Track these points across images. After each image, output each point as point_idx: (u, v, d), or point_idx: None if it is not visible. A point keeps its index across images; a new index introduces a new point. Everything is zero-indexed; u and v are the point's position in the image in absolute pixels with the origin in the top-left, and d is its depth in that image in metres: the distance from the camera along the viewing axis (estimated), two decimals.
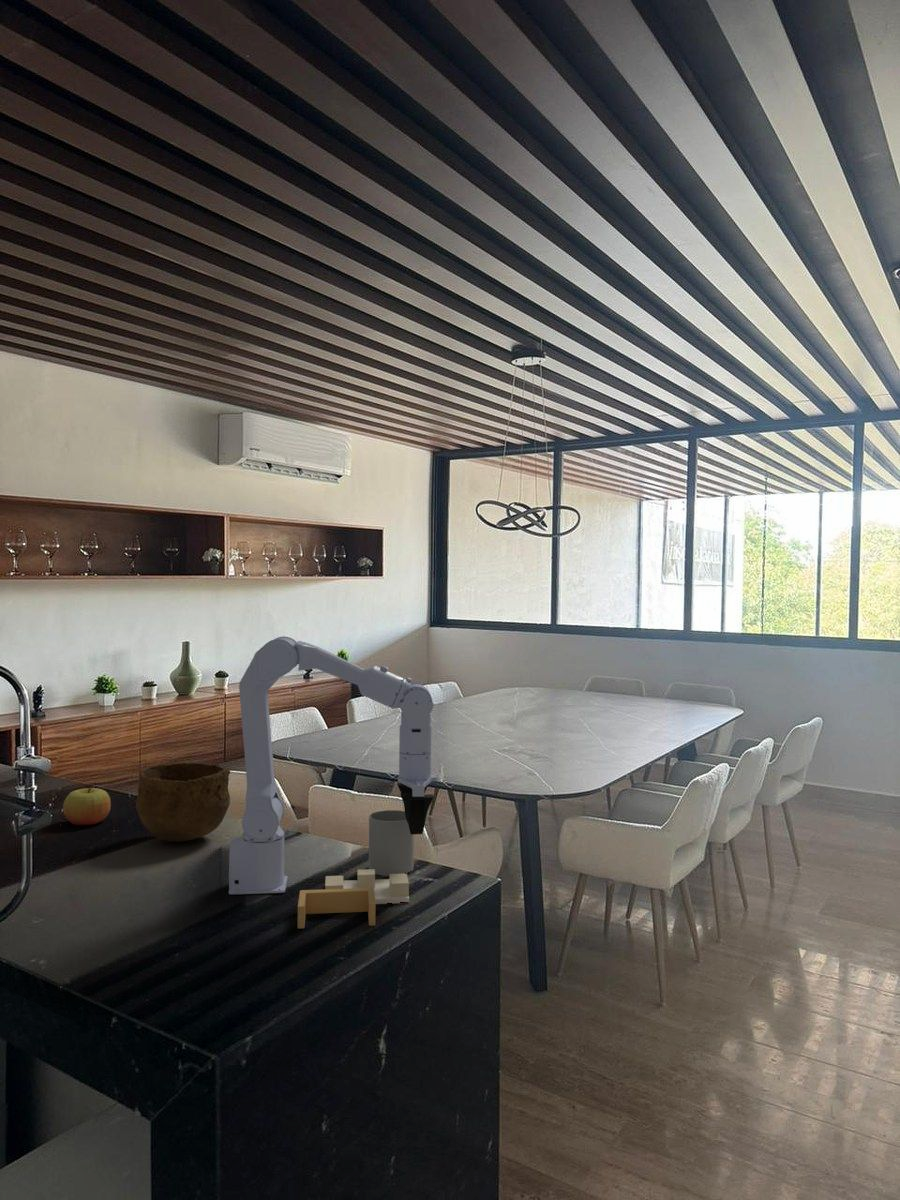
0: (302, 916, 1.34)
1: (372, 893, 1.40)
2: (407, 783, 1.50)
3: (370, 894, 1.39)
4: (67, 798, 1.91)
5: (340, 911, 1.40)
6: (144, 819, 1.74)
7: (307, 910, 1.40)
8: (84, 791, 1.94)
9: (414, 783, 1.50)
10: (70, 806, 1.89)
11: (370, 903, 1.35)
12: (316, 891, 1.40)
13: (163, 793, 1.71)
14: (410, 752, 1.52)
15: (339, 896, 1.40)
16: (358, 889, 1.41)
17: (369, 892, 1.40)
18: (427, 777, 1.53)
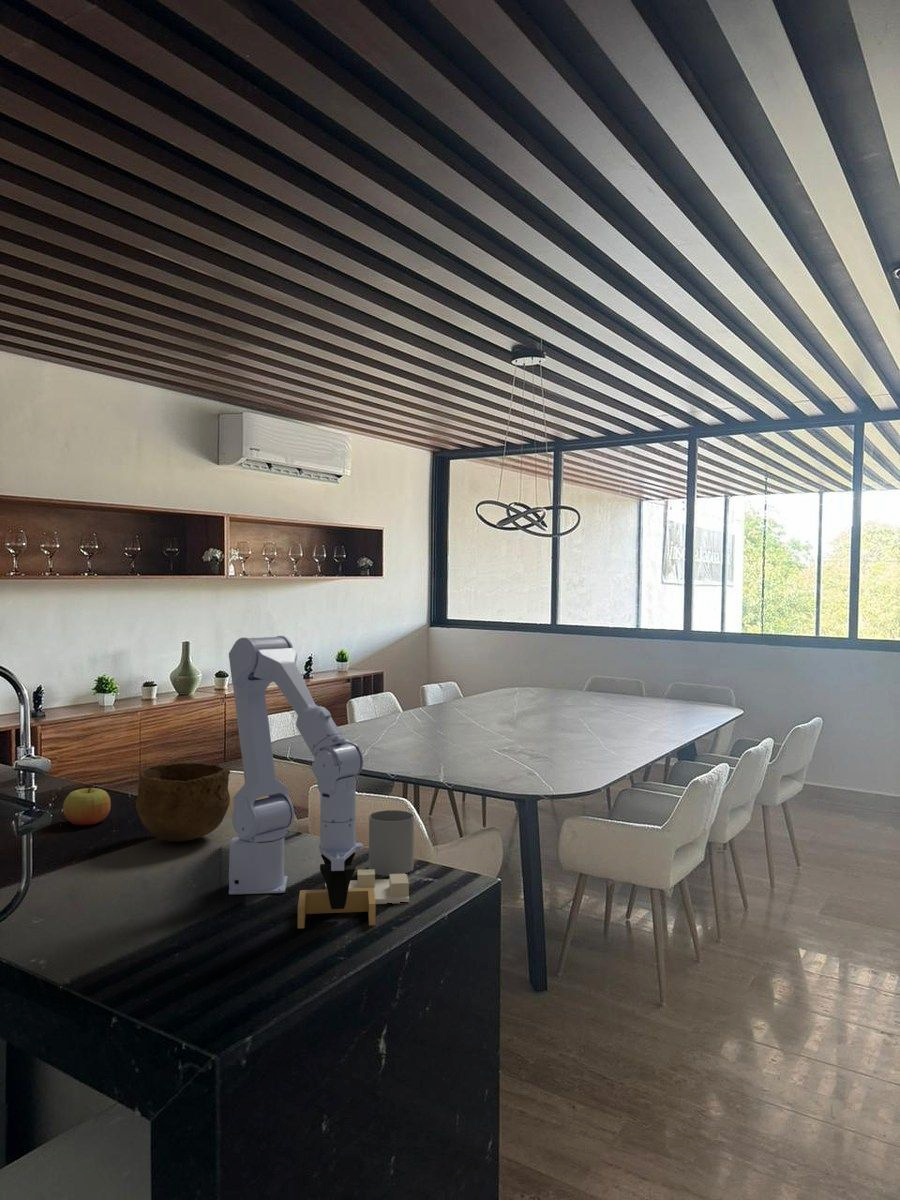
0: (302, 916, 1.34)
1: (372, 893, 1.40)
2: (327, 855, 1.36)
3: (370, 894, 1.39)
4: (67, 798, 1.91)
5: (340, 911, 1.40)
6: (144, 819, 1.74)
7: (307, 910, 1.40)
8: (84, 791, 1.94)
9: (334, 855, 1.36)
10: (70, 806, 1.89)
11: (370, 903, 1.35)
12: (316, 891, 1.40)
13: (163, 793, 1.71)
14: (322, 818, 1.39)
15: None
16: (358, 889, 1.41)
17: (369, 892, 1.40)
18: (350, 846, 1.39)
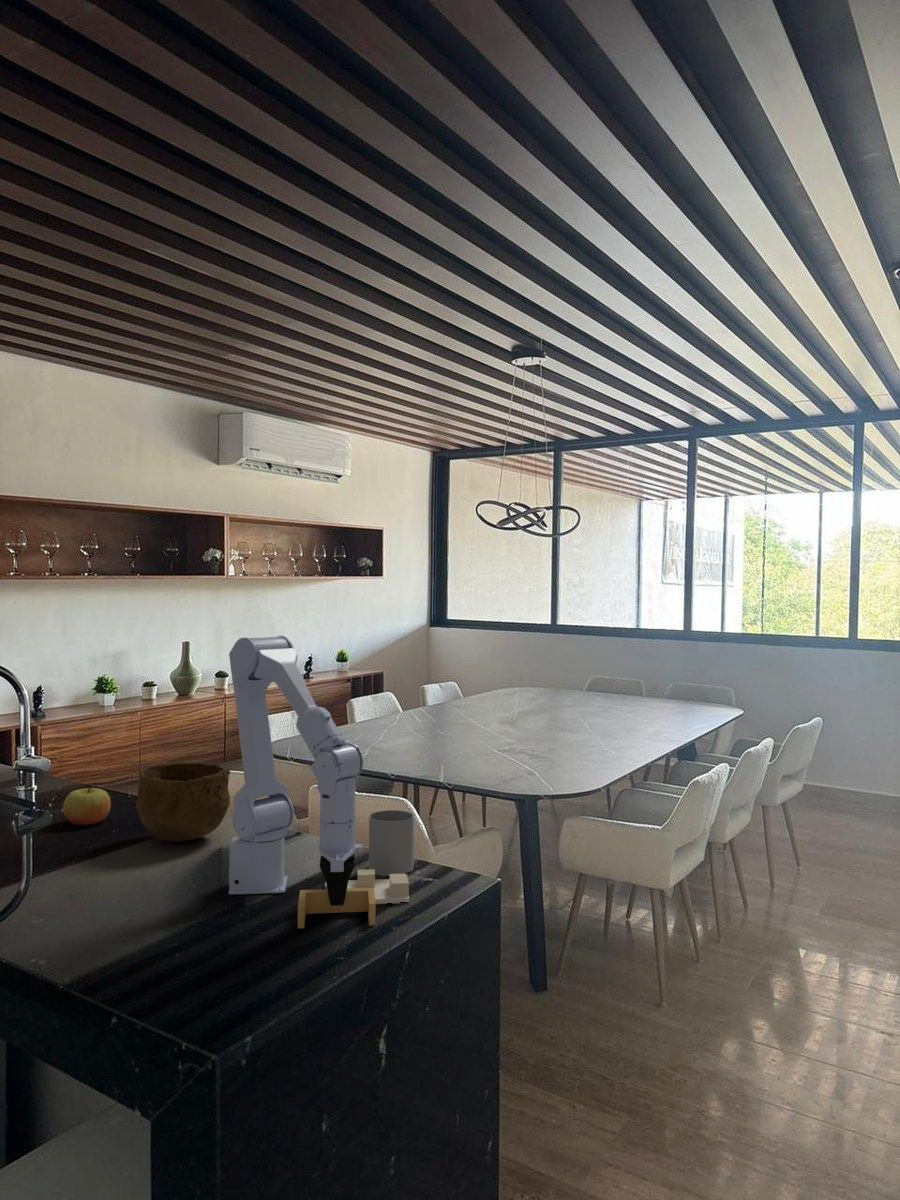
0: (302, 916, 1.34)
1: (372, 893, 1.40)
2: (326, 856, 1.36)
3: (370, 894, 1.39)
4: (67, 798, 1.91)
5: (340, 911, 1.40)
6: (144, 819, 1.74)
7: (307, 910, 1.40)
8: (84, 791, 1.94)
9: (334, 856, 1.36)
10: (70, 806, 1.89)
11: (370, 903, 1.35)
12: (316, 891, 1.40)
13: (163, 793, 1.71)
14: (321, 819, 1.39)
15: None
16: (358, 889, 1.41)
17: (369, 892, 1.40)
18: (350, 848, 1.39)
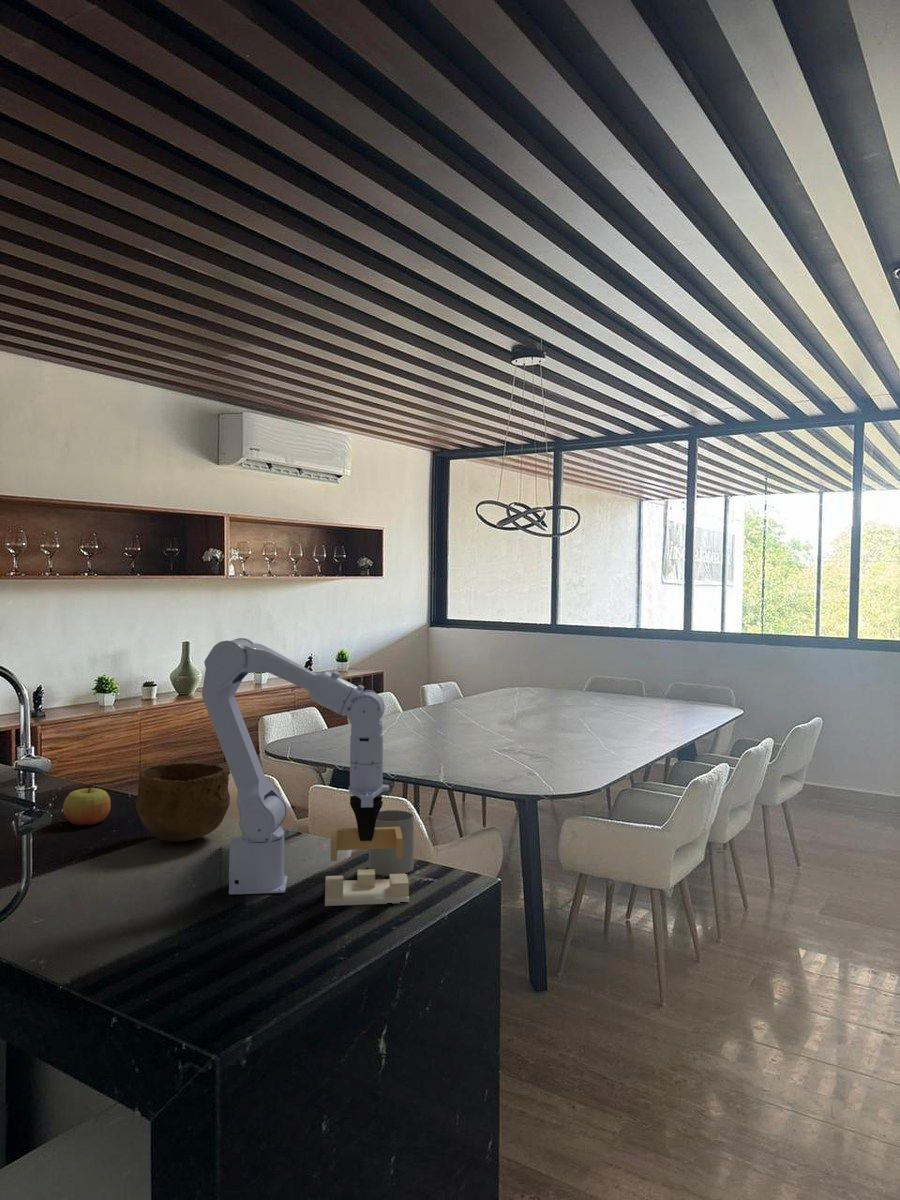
0: (335, 850, 1.44)
1: (399, 830, 1.50)
2: (356, 793, 1.47)
3: (397, 831, 1.49)
4: (67, 798, 1.91)
5: (369, 848, 1.51)
6: (144, 819, 1.74)
7: (338, 847, 1.50)
8: (84, 791, 1.94)
9: (363, 793, 1.46)
10: (70, 806, 1.89)
11: (397, 838, 1.45)
12: (346, 829, 1.51)
13: (163, 793, 1.71)
14: (358, 761, 1.49)
15: None
16: (385, 827, 1.52)
17: (396, 830, 1.50)
18: (378, 787, 1.49)
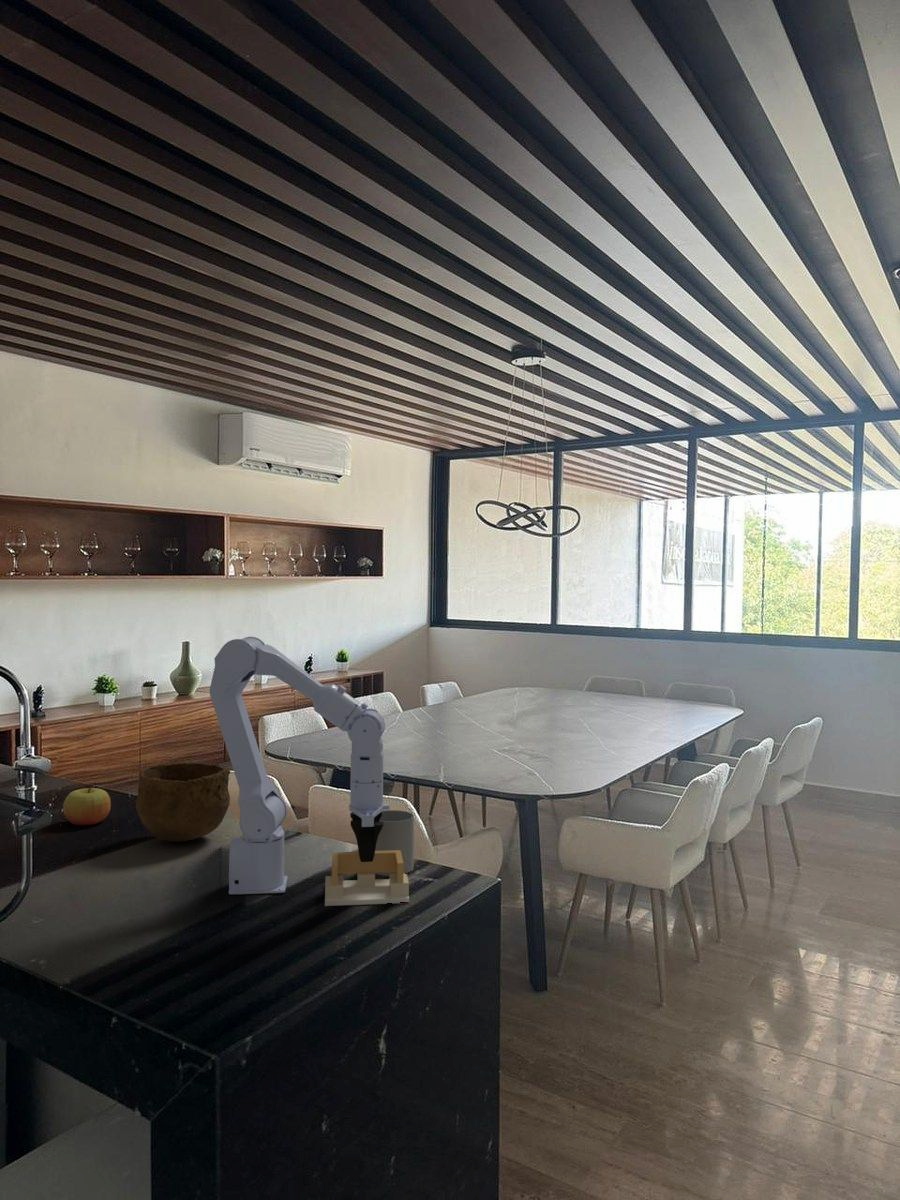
0: (336, 874, 1.44)
1: (399, 854, 1.50)
2: (357, 812, 1.47)
3: (397, 855, 1.50)
4: (67, 798, 1.91)
5: (369, 871, 1.51)
6: (144, 819, 1.74)
7: (339, 870, 1.50)
8: (84, 791, 1.94)
9: (364, 812, 1.47)
10: (70, 806, 1.89)
11: (398, 862, 1.46)
12: (347, 853, 1.51)
13: (163, 793, 1.71)
14: (359, 780, 1.49)
15: None
16: (386, 851, 1.52)
17: (396, 854, 1.51)
18: (378, 806, 1.50)
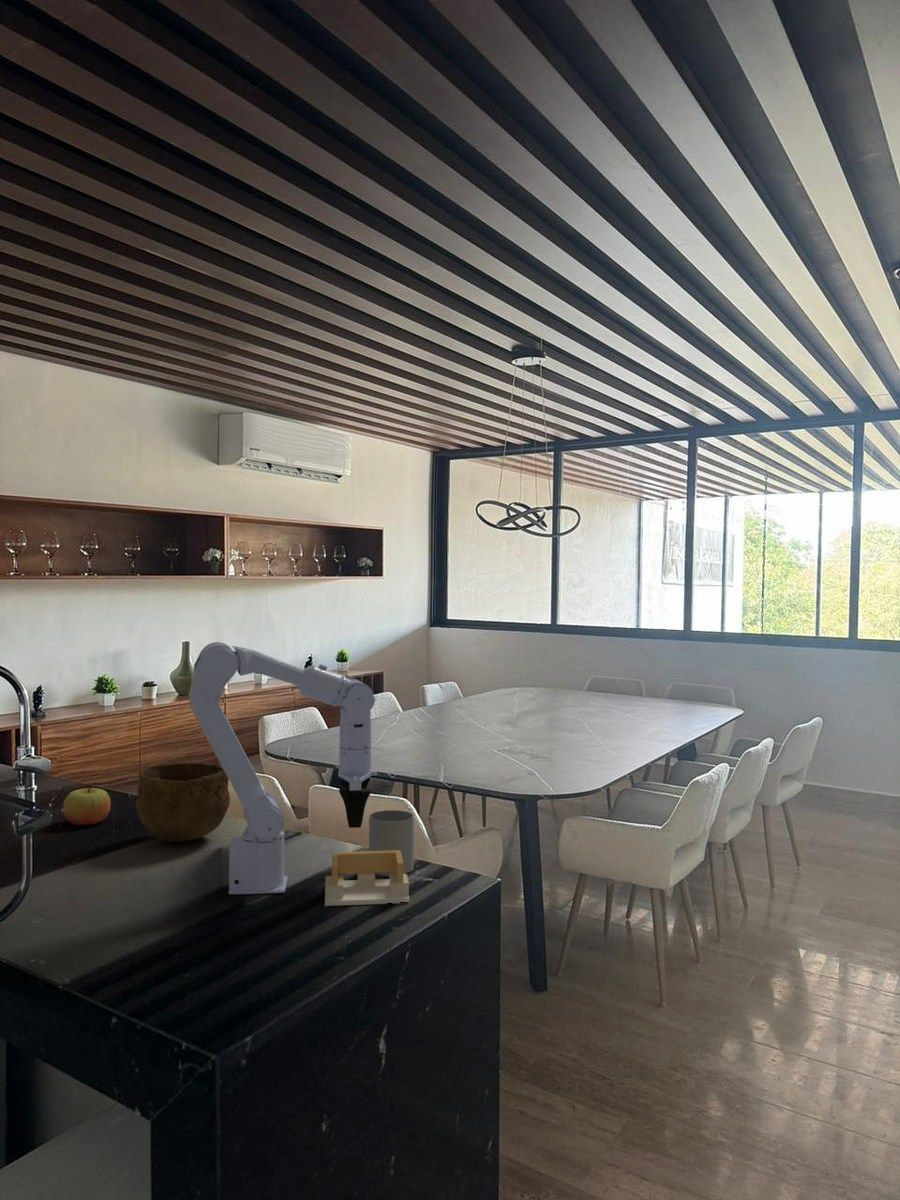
0: (336, 874, 1.44)
1: (399, 854, 1.50)
2: (345, 777, 1.53)
3: (397, 855, 1.50)
4: (67, 798, 1.91)
5: (369, 871, 1.51)
6: (144, 819, 1.74)
7: (339, 870, 1.50)
8: (84, 791, 1.94)
9: (352, 777, 1.52)
10: (70, 806, 1.89)
11: (398, 862, 1.46)
12: (347, 853, 1.51)
13: (163, 793, 1.71)
14: (352, 747, 1.54)
15: (368, 858, 1.51)
16: (386, 851, 1.52)
17: (396, 854, 1.51)
18: (366, 771, 1.55)
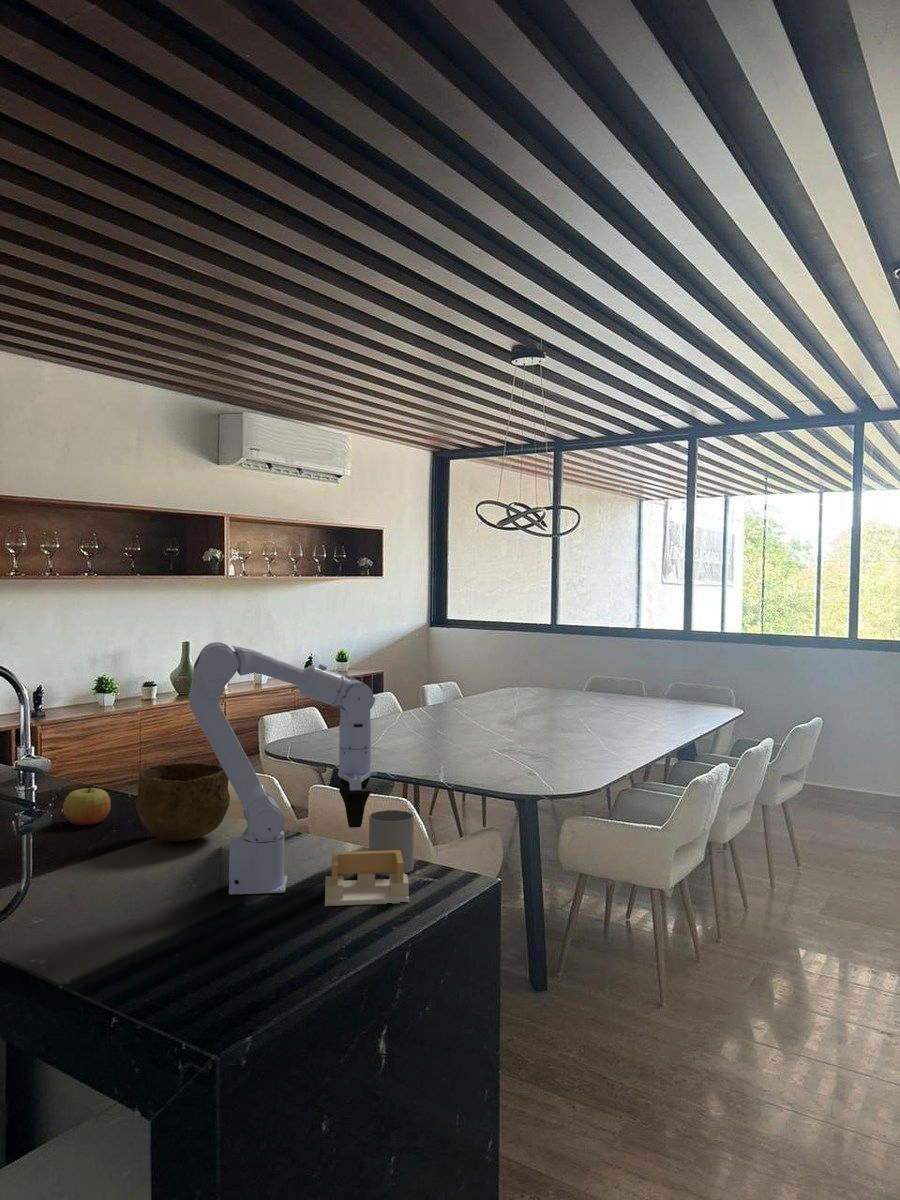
0: (336, 874, 1.44)
1: (399, 854, 1.50)
2: (345, 777, 1.53)
3: (397, 855, 1.50)
4: (67, 798, 1.91)
5: (369, 871, 1.51)
6: (144, 819, 1.74)
7: (339, 870, 1.50)
8: (84, 791, 1.94)
9: (352, 777, 1.52)
10: (70, 806, 1.89)
11: (398, 862, 1.46)
12: (347, 853, 1.51)
13: (163, 793, 1.71)
14: (352, 747, 1.54)
15: (368, 858, 1.51)
16: (386, 851, 1.52)
17: (396, 854, 1.51)
18: (366, 771, 1.55)
